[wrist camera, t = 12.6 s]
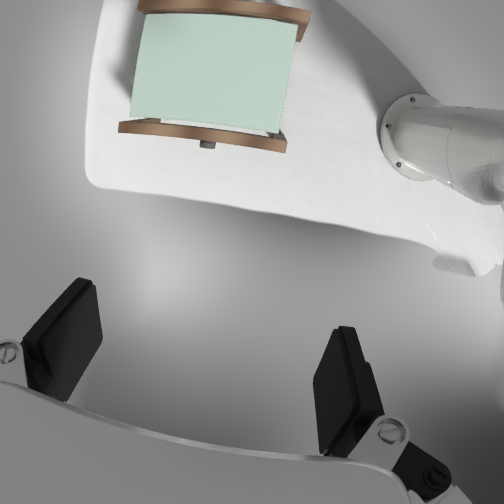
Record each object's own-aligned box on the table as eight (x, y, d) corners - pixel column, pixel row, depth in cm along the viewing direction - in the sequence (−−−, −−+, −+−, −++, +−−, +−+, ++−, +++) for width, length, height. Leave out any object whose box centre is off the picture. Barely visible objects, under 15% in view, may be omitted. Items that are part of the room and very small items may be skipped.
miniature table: (302, 29, 33) (312, 4, 23) (280, 149, 40) (283, 160, 31) (169, 16, 32) (140, -6, 23) (151, 131, 40) (117, 139, 30)
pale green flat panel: (296, 30, 27) (298, 25, 25) (277, 132, 32) (278, 133, 30) (154, 19, 27) (146, 14, 25) (138, 115, 32) (129, 116, 30)
